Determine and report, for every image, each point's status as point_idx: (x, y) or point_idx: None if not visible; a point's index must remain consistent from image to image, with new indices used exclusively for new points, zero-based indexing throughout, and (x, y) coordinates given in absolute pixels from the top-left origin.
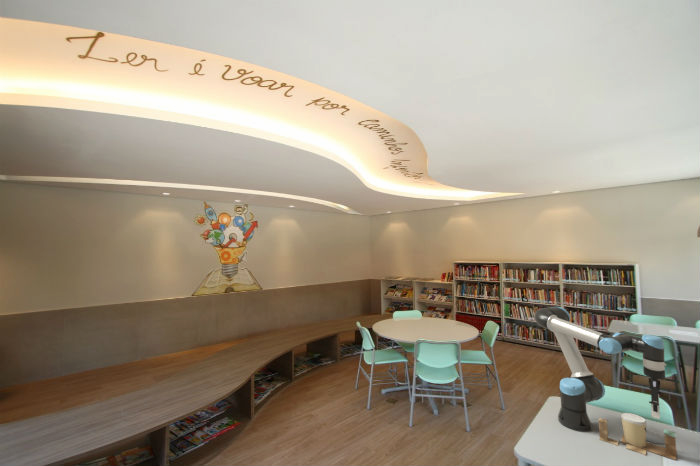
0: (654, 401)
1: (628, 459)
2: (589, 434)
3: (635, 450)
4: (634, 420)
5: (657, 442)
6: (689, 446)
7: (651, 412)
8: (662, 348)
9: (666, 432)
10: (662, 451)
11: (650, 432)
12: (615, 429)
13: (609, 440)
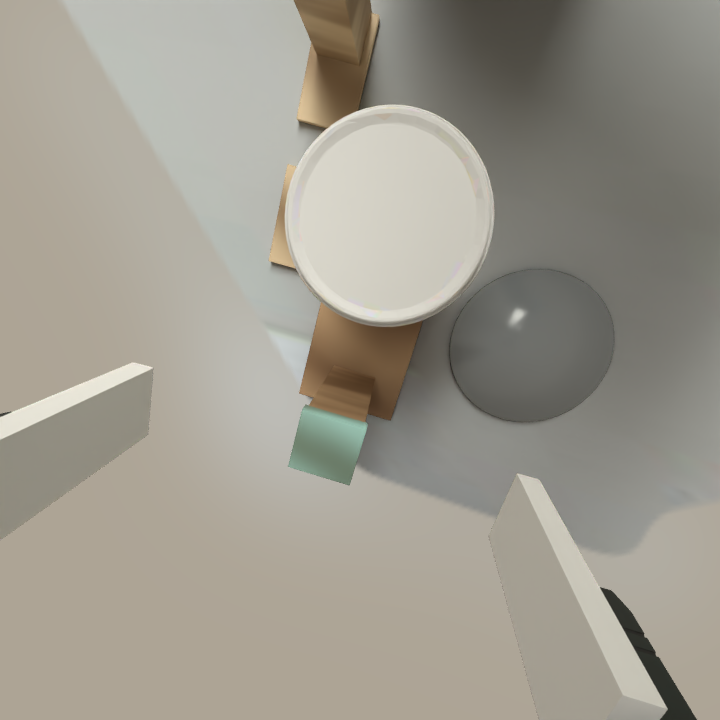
0: (527, 559)
1: (166, 154)
2: None
3: (281, 214)
4: (316, 217)
5: (458, 363)
6: (498, 501)
7: (83, 383)
8: None
9: (309, 426)
10: (349, 355)
11: (584, 364)
12: (546, 149)
13: (329, 70)
